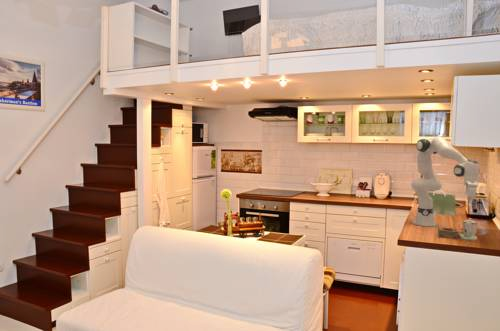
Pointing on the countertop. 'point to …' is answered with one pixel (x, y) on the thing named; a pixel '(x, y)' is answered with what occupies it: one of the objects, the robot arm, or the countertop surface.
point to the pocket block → (447, 233)
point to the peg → (468, 229)
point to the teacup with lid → (472, 226)
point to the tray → (472, 238)
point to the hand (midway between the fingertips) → (469, 202)
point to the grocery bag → (443, 203)
